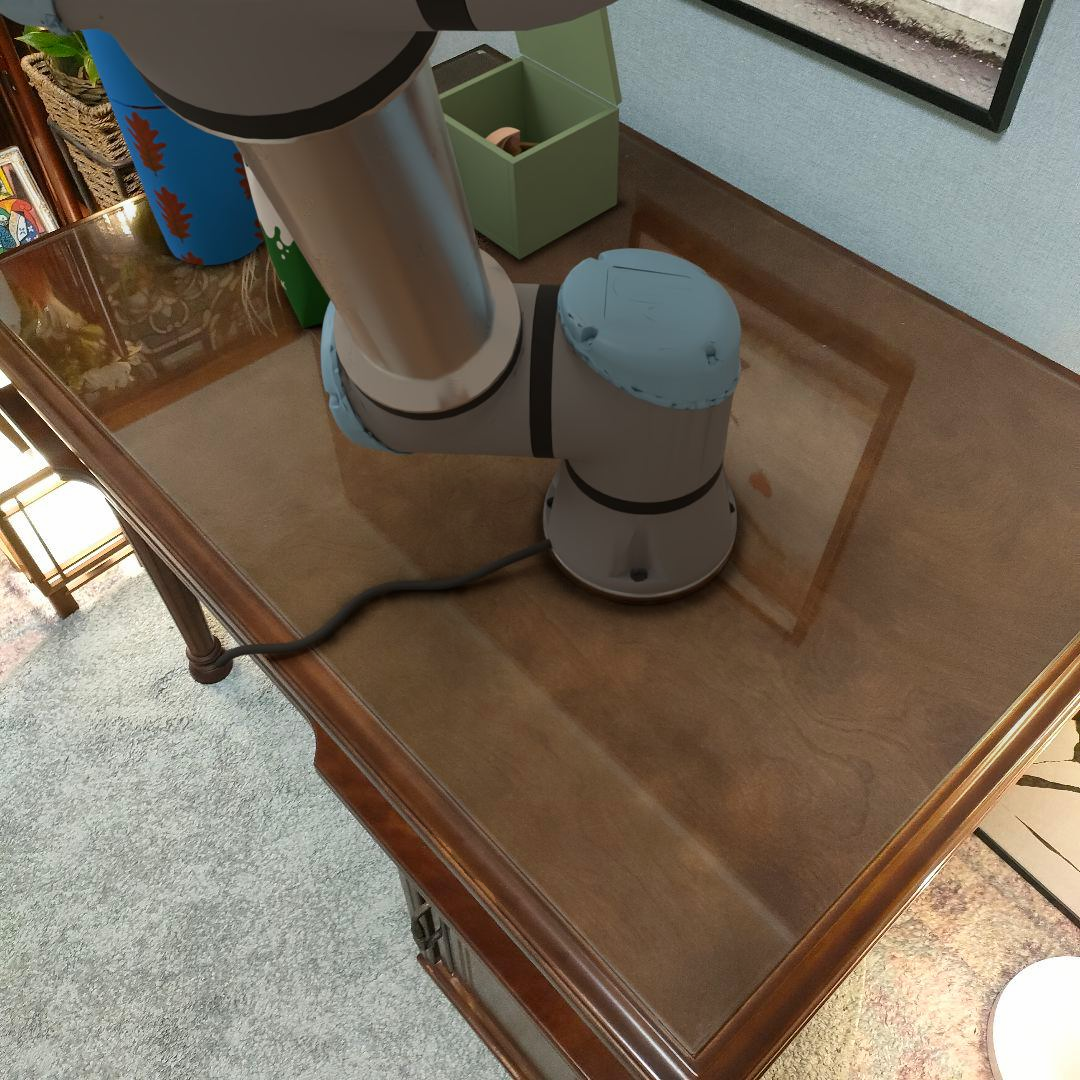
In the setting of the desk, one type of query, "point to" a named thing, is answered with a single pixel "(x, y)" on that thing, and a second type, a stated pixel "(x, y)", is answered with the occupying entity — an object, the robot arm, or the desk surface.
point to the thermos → (179, 166)
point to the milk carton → (289, 261)
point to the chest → (532, 154)
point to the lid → (577, 52)
